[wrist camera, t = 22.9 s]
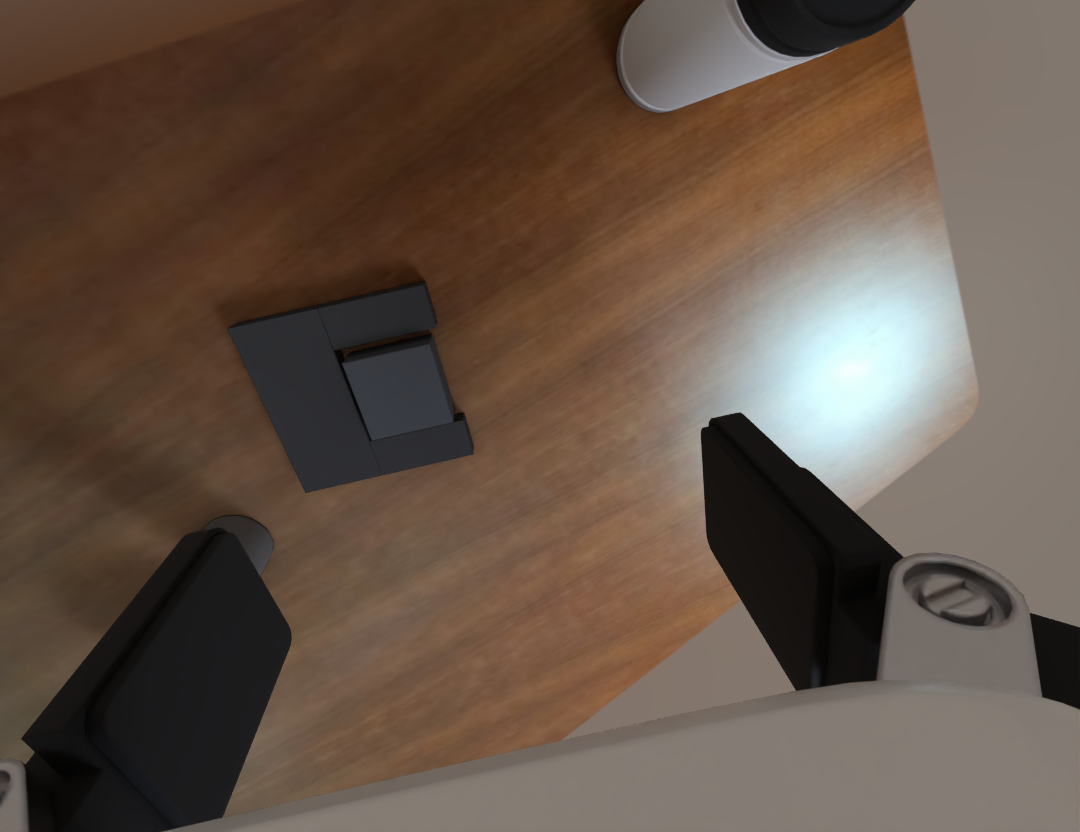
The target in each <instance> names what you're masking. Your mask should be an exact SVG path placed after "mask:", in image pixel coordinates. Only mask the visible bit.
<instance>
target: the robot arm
mask: <svg viewBox="0 0 1080 832" xmlns="http://www.w3.org/2000/svg"><path fill="white" fill-rule="evenodd" d="M701 445H702V463H703V481H704V499H705V516H706V533H707V539H708V543H709V546H710V548H711V551H712V552H713V554H714V556H715V558H716V559H717V561H718V562H719V564H720V566H721V567H722V569H723V571H724V572H725V574H726V576H727V577H728V579H729V581H730V582H731V584H732V586H733V587H734V589H735V591H736V592H737V594H738V596H739V597H740V599H741V600H742V602H743V604H744V605H745V607H746V609H747V610H748V612H749V614H750V615H751V617H752V619H753V620H754V622H755V624H756V625H757V627H758V629H759V630H760V632H761V633H762V635H763V637H764V638H765V640H766V642H767V643H768V645H769V647H770V648H771V650H772V652H773V653H774V655H775V657H776V658H777V660H778V661H779V663H780V665H781V667H782V668H783V670H784V671H785V673H786V675H787V676H788V678H789V680H790V681H791V683H792V685H793V686H794V688H795V690H796V691H793V692H788V693H783V694H778V695H773V696H768V697H764V698H759V699H753V700H748V701H743V702H738V703H733V704H729V705H724V706H719V707H714V708H709V709H704V710H699V711H694V712H689V713H684V714H680V715H675V716H671V717H666V718H662V719H657V720H653V721H648V722H644V723H639V724H634V725H630V726H625V727H621V728H616V729H612V730H607V731H603V732H598V733H594V734H589V735H585V736H580V737H575V738H571V739H566V740H562V741H557V742H553V743H548V744H544V745H539V746H535V747H530V748H526V749H521V750H517V751H512V752H508V753H503V754H499V755H494V756H490V757H486V758H481V759H477V760H472V761H468V762H463V763H459V764H455V765H450V766H446V767H441V768H437V769H432V770H428V771H424V772H419V773H415V774H410V775H406V776H402V777H397V778H393V779H388V780H384V781H380V782H375V783H371V784H366V785H362V786H358V787H353V788H349V789H344V790H340V791H336V792H331V793H327V794H322V795H318V796H314V797H309V798H305V799H301V800H297V801H292V802H288V803H284V804H279V805H275V806H271V807H266V808H262V809H258V810H254V811H249V812H245V813H241V814H236V815H232V816H228V817H224V818H222V817H223V815H224V812H225V810H226V807H227V805H228V802H229V800H230V797H231V795H232V792H233V790H234V787H235V785H236V782H237V779H238V777H239V774H240V772H241V769H242V767H243V764H244V762H245V759H246V757H247V754H248V752H249V749H250V747H251V744H252V742H253V739H254V737H255V734H256V732H257V729H258V727H259V724H260V721H261V719H262V716H263V714H264V711H265V709H266V706H267V704H268V701H269V699H270V696H271V694H272V691H273V689H274V686H275V684H276V681H277V679H278V676H279V674H280V671H281V668H282V666H283V663H284V661H285V658H286V656H287V653H288V651H289V648H290V645H291V639H292V638H291V630H290V627H289V625H288V623H287V622H286V620H285V618H284V617H283V615H282V613H281V611H280V610H279V608H278V606H277V604H276V603H275V601H274V599H273V598H272V596H271V594H270V592H269V591H268V589H267V587H266V586H265V584H264V582H263V580H262V579H261V577H260V575H259V573H258V572H257V570H256V568H255V567H254V565H253V563H252V561H251V560H250V558H249V556H248V555H247V553H246V551H245V549H244V548H243V546H242V544H241V542H240V541H239V539H238V538H237V536H236V535H235V534H233V533H231V532H227V531H226V530H224V529H223V528H219V527H217V528H212V529H208V530H203V531H199V532H194V533H190V534H187V535H185V536H184V537H183V538H182V539H181V540H180V542H179V543H178V544H177V545H176V547H175V548H174V549H173V550H172V552H171V553H170V554H169V555H168V557H167V558H166V559H165V560H164V562H163V563H162V564H161V565H160V567H159V568H158V569H157V570H156V571H155V573H154V574H153V575H152V576H151V578H150V579H149V580H148V581H147V583H146V584H145V585H144V586H143V588H142V589H141V590H140V591H139V593H138V594H137V595H136V596H135V598H134V599H133V600H132V601H131V603H130V604H129V605H128V606H127V608H126V609H125V610H124V611H123V613H122V614H121V615H120V616H119V618H118V619H117V620H116V621H115V622H114V624H113V625H112V626H111V627H110V629H109V630H108V631H107V632H106V634H105V635H104V636H103V637H102V639H101V640H100V641H99V642H98V644H97V645H96V646H95V647H94V649H93V650H92V651H91V652H90V654H89V655H88V656H87V657H86V659H85V660H84V661H83V662H82V664H81V665H80V666H79V667H78V669H77V670H76V671H75V672H74V673H73V675H72V676H71V677H70V678H69V680H68V681H67V682H66V683H65V685H64V686H63V687H62V688H61V690H60V691H59V692H58V693H57V695H56V696H55V697H54V698H53V700H52V701H51V702H50V703H49V705H48V706H47V707H46V708H45V710H44V711H43V712H42V713H41V715H40V716H39V717H38V718H37V720H36V721H35V722H34V723H33V724H32V726H31V727H30V728H29V729H28V731H27V732H26V733H25V734H24V736H23V737H22V738H21V739H22V740H23V741H24V742H25V743H26V744H27V745H28V746H29V747H30V748H31V749H32V750H34V751H35V753H34V754H33V756H32V757H31V758H30V760H29V761H28V762H27V764H26V765H25V764H24V763H23V762H22V761H20V760H17V759H14V758H7V759H0V832H1080V627H1076V626H1073V625H1069V624H1066V623H1063V622H1059V621H1055V620H1052V619H1049V618H1046V617H1042V616H1039V615H1035V614H1032V613H1030V612H1029V608H1028V605H1027V603H1026V600H1025V598H1024V595H1023V594H1022V593H1021V592H1020V591H1019V590H1018V589H1017V588H1016V587H1015V585H1014V584H1013V583H1012V582H1010V581H1009V580H1008V579H1006V578H1005V577H1003V576H1002V575H1001V574H999V573H998V572H996V571H995V570H993V569H991V568H988V567H986V566H984V565H982V564H980V563H978V562H976V561H973V560H969V559H966V558H962V557H959V556H956V555H949V554H941V553H918V554H914V555H911V556H908V557H903V556H902V555H901V554H899V553H898V552H897V551H896V550H895V549H894V548H893V547H892V546H891V545H890V544H888V543H887V542H886V541H885V540H884V539H883V538H882V537H881V536H880V535H879V534H878V533H877V532H875V531H874V530H873V529H872V528H871V527H870V526H869V525H868V524H867V523H866V522H865V521H863V520H862V519H861V518H860V517H859V516H858V515H857V514H856V513H855V512H854V511H853V510H852V509H850V508H849V507H848V506H847V505H846V504H845V503H844V502H843V501H842V500H841V499H840V498H839V497H837V496H836V495H835V494H834V493H833V492H832V491H831V490H830V489H829V488H828V487H827V486H825V485H824V484H823V483H822V482H821V481H820V480H819V479H818V478H817V477H816V476H815V475H813V474H812V473H811V472H810V471H808V470H807V469H806V468H802V467H799V466H798V465H797V464H796V463H795V462H794V461H793V460H792V459H790V458H789V457H788V456H787V455H786V454H785V453H784V452H783V451H782V450H781V449H780V448H779V447H778V446H777V445H775V444H774V443H773V442H772V441H771V440H770V439H769V438H768V437H767V436H766V435H765V434H764V433H763V432H762V431H760V430H759V429H758V428H757V427H756V426H755V425H754V424H753V423H752V422H751V421H750V420H749V419H748V418H747V417H746V416H744V415H743V414H742V413H734V414H730V415H725V416H721V417H716V418H711V420H710V421H709V427H704V428H702V430H701Z"/></svg>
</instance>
